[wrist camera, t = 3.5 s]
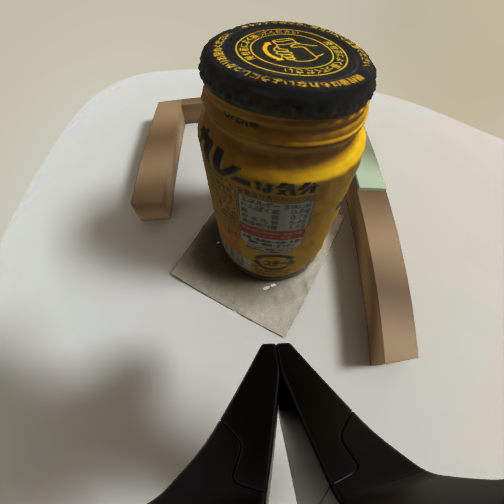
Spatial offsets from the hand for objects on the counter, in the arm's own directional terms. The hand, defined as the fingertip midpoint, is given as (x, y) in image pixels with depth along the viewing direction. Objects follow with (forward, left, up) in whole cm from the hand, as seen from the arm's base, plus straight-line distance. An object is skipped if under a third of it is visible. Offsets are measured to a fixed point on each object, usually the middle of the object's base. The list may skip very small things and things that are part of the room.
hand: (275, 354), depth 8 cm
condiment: (+6, +3, -7) cm, 10 cm away
